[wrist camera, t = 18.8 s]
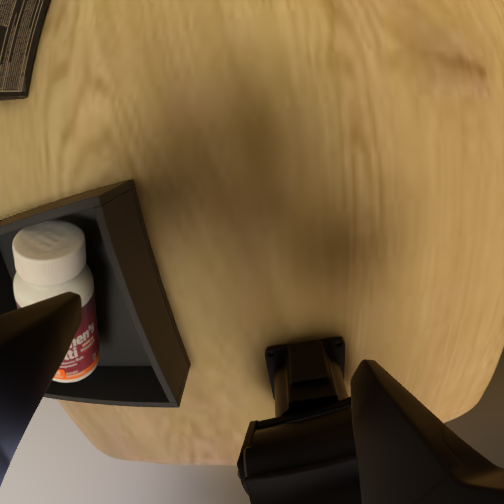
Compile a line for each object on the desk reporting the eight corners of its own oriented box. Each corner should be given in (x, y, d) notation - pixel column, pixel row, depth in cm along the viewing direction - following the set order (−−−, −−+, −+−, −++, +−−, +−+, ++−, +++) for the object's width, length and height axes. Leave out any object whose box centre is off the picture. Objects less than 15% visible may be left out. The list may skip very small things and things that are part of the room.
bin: (190, 364, 26) (179, 407, 21) (54, 364, 28) (33, 395, 23) (133, 178, 20) (98, 195, 15) (-8, 223, 22) (-44, 243, 17)
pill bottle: (55, 397, 18) (19, 279, 13) (23, 346, 21) (-5, 230, 15) (115, 363, 23) (110, 247, 18) (78, 320, 26) (69, 209, 20)
